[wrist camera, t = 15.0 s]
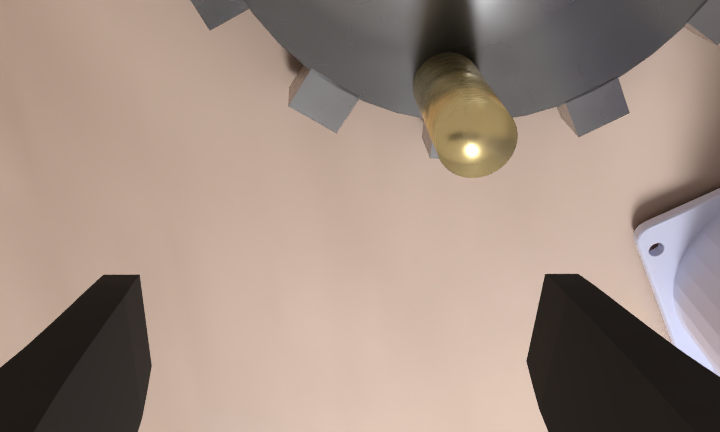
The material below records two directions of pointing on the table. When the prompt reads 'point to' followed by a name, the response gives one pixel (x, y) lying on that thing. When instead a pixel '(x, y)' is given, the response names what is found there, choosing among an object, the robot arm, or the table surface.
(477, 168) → the sprocket
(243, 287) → the table surface
